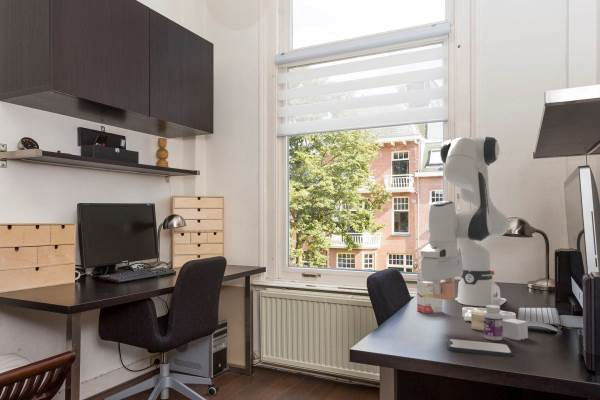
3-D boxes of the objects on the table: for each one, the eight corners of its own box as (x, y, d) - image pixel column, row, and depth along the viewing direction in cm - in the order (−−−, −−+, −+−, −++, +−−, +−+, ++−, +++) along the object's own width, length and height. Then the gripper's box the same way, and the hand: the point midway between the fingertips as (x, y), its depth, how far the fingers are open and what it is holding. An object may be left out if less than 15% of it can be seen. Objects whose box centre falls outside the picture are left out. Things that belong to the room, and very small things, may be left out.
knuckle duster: (455, 321, 155) (467, 314, 166) (510, 329, 144) (519, 320, 156) (455, 311, 155) (467, 305, 166) (510, 318, 144) (518, 311, 156)
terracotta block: (440, 295, 146) (440, 280, 146) (454, 297, 142) (454, 282, 142) (432, 297, 142) (432, 282, 142) (446, 299, 139) (446, 284, 139)
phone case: (508, 349, 123) (448, 343, 127) (508, 344, 123) (448, 338, 127) (513, 359, 114) (448, 353, 119) (513, 353, 114) (448, 347, 119)
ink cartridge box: (424, 313, 165) (423, 274, 166) (416, 311, 170) (416, 273, 170) (443, 312, 168) (442, 273, 168) (435, 309, 173) (435, 272, 173)
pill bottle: (479, 336, 133) (479, 305, 134) (493, 335, 135) (492, 303, 135) (493, 341, 128) (492, 308, 128) (507, 339, 130) (506, 307, 130)
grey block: (512, 334, 136) (511, 318, 136) (527, 338, 132) (527, 321, 132) (502, 336, 133) (502, 320, 134) (518, 340, 129) (517, 323, 129)
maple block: (474, 325, 147) (474, 310, 147) (490, 327, 144) (490, 312, 144) (471, 329, 143) (471, 313, 143) (487, 331, 140) (487, 315, 140)
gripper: (450, 247, 152) (451, 287, 151) (417, 251, 138) (418, 295, 138) (467, 248, 147) (468, 289, 147) (435, 252, 133) (436, 298, 133)
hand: (443, 292), depth 142 cm, fingers closed on terracotta block, 5 cm apart
